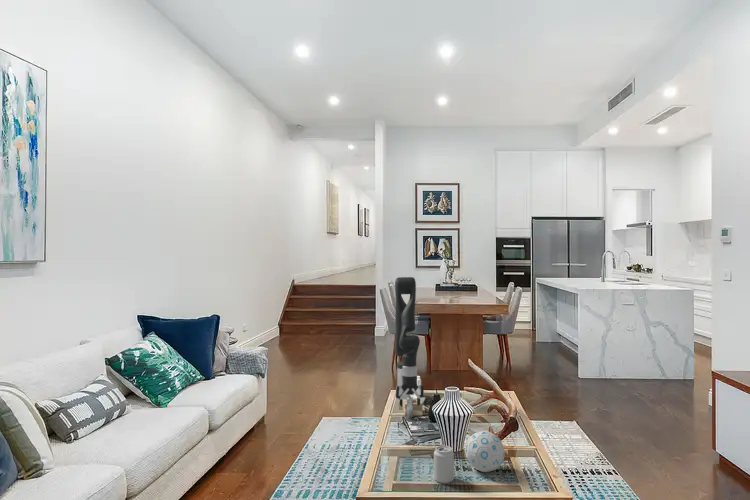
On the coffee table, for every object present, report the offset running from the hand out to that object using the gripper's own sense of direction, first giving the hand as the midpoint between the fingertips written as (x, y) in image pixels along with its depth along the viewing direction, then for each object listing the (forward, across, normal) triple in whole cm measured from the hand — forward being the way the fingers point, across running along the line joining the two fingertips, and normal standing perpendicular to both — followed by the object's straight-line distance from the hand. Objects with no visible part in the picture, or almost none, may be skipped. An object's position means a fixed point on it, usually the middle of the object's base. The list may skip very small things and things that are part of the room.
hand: (409, 405), depth 266 cm
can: (+7, -1, +70) cm, 70 cm away
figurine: (+6, -9, -23) cm, 26 cm away
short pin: (+6, +2, -14) cm, 16 cm away
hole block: (+6, -3, -7) cm, 10 cm away
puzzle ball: (+7, -19, +64) cm, 67 cm away
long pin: (+6, 0, 0) cm, 6 cm away
